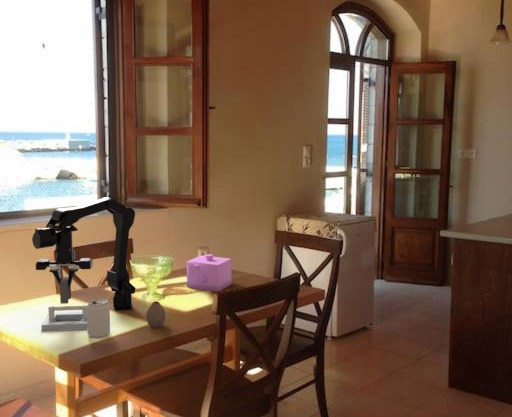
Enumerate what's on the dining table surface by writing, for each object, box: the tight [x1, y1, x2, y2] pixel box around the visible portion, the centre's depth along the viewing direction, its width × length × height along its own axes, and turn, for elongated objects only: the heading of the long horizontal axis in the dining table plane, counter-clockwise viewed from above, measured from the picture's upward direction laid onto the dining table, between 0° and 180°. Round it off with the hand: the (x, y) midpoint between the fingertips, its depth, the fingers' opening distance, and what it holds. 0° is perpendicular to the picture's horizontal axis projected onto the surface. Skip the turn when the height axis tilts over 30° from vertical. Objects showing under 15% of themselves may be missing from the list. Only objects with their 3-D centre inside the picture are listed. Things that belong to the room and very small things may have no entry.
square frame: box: [41, 304, 88, 332], centre depth 215 cm, size 16×13×6 cm
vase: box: [145, 301, 167, 329], centre depth 214 cm, size 7×7×9 cm
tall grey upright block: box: [59, 276, 72, 305], centre depth 215 cm, size 2×7×8 cm, turn 6°
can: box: [86, 298, 111, 339], centre depth 204 cm, size 8×8×12 cm
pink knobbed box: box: [186, 253, 232, 292], centre depth 264 cm, size 15×25×14 cm, turn 156°
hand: (65, 287), depth 215 cm, fingers closed on tall grey upright block, 2 cm apart
